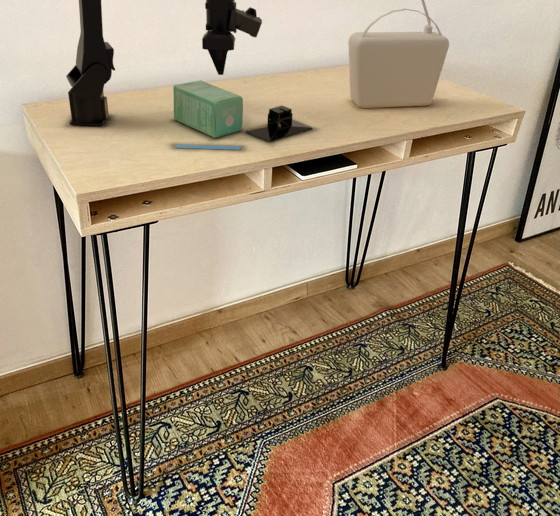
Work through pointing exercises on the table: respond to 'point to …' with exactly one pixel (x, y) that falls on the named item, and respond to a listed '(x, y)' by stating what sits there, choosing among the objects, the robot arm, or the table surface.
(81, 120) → the robot arm
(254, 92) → the table surface
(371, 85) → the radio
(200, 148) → the tape line
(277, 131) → the black stand
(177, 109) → the box
